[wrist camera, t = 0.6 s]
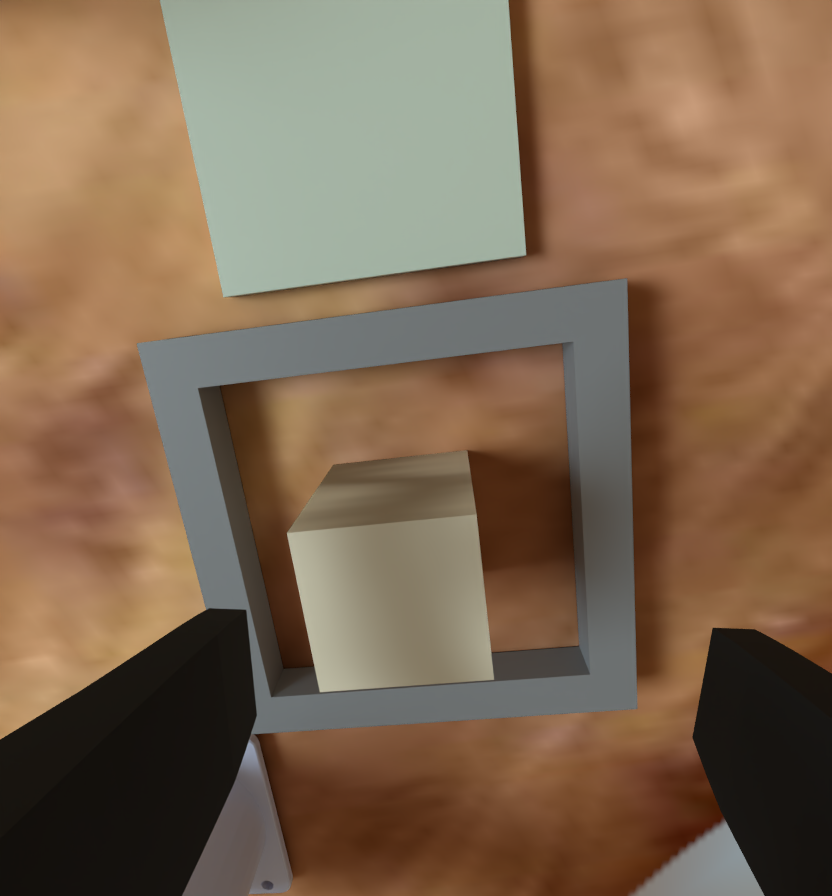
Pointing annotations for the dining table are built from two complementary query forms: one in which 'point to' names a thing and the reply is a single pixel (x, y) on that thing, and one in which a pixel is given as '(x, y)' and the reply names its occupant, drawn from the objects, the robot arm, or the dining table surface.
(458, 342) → the frame
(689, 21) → the dining table surface
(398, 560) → the maple block
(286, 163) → the green pad
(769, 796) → the robot arm
